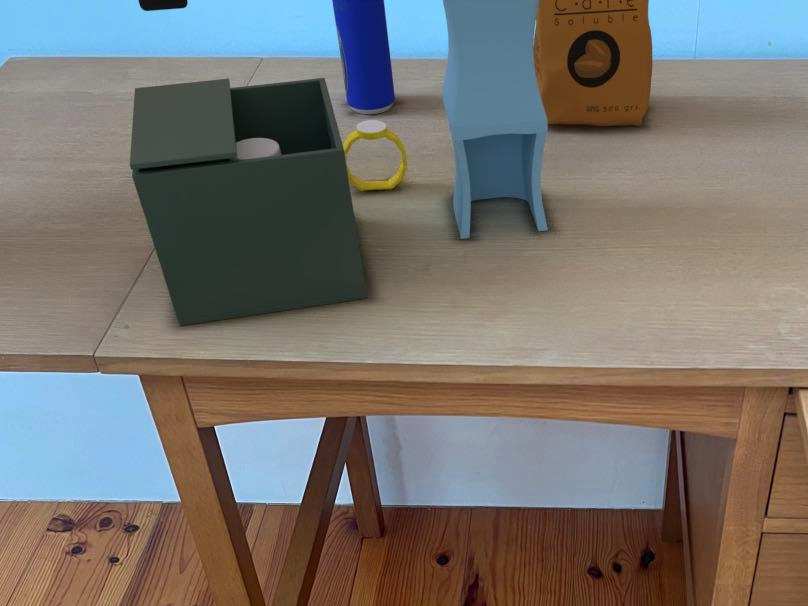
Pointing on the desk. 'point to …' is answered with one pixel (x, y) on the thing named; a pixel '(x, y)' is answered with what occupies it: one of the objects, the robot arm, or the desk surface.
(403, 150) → the watch
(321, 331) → the desk surface
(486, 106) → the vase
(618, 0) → the coffee package
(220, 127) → the box flap
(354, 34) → the beverage can
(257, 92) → the open box
